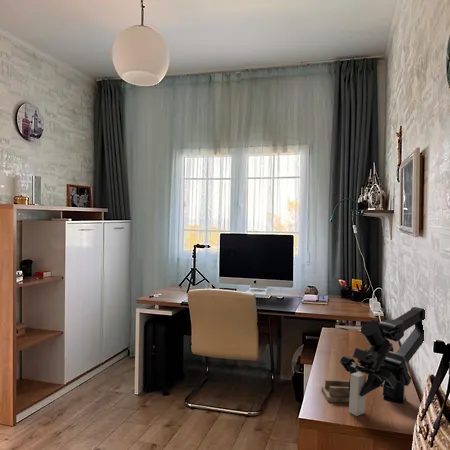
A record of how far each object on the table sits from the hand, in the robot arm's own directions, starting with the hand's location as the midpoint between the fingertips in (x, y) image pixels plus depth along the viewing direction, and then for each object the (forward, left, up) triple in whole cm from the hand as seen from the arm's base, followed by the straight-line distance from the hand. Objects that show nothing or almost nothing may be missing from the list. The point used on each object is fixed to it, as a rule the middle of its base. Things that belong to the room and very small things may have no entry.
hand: (354, 393), depth 138 cm
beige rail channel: (+7, -11, -7) cm, 15 cm away
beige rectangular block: (-1, -1, -7) cm, 7 cm away
